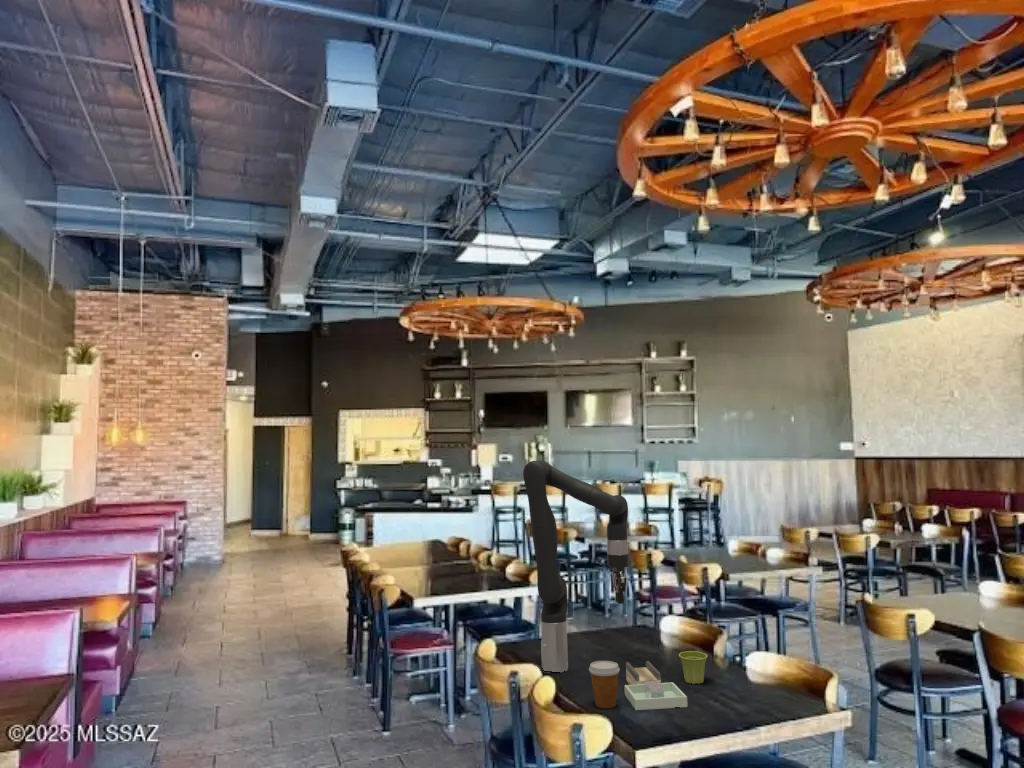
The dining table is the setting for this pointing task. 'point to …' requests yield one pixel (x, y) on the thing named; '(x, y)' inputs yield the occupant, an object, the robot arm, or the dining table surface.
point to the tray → (641, 702)
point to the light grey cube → (647, 685)
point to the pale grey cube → (655, 691)
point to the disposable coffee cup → (604, 683)
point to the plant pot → (693, 666)
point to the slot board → (642, 674)
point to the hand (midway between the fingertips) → (619, 602)
